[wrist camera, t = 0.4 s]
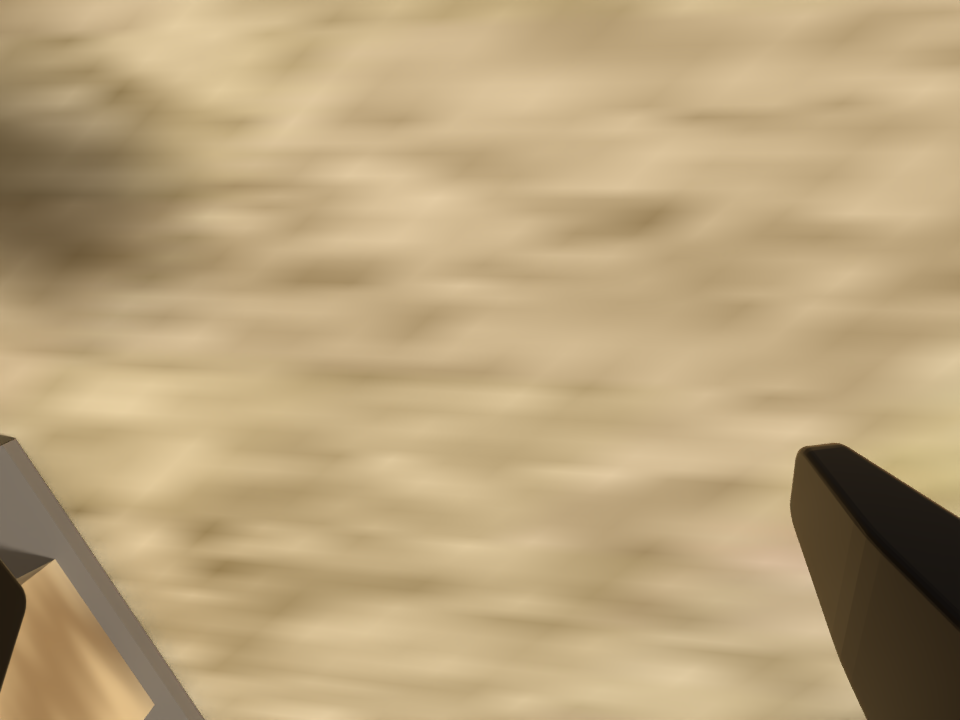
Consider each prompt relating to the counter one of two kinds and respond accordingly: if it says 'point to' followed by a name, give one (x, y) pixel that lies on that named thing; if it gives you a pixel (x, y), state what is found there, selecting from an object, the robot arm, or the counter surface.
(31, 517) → the rubber mat
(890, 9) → the counter surface
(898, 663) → the robot arm
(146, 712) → the birch block
